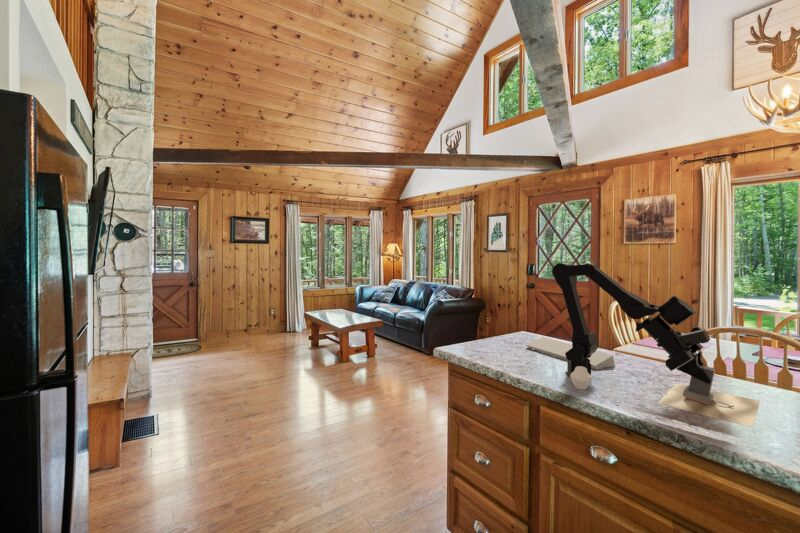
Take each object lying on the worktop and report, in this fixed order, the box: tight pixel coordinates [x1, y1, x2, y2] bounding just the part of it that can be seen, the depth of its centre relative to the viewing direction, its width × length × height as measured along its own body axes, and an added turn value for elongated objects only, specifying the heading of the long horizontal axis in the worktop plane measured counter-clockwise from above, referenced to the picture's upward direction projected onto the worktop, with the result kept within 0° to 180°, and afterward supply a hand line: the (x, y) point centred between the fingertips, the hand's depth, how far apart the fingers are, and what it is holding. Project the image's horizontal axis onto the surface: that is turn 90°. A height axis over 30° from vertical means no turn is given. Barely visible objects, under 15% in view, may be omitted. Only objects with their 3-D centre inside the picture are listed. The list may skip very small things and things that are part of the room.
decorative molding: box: [526, 336, 616, 370], centre depth 154 cm, size 34×5×10 cm
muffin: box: [569, 366, 593, 391], centre depth 119 cm, size 6×6×7 cm
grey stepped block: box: [683, 364, 716, 405], centre depth 105 cm, size 6×6×9 cm
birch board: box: [657, 383, 760, 428], centre depth 104 cm, size 20×24×2 cm
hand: (710, 381), depth 104 cm, fingers closed on grey stepped block, 3 cm apart
